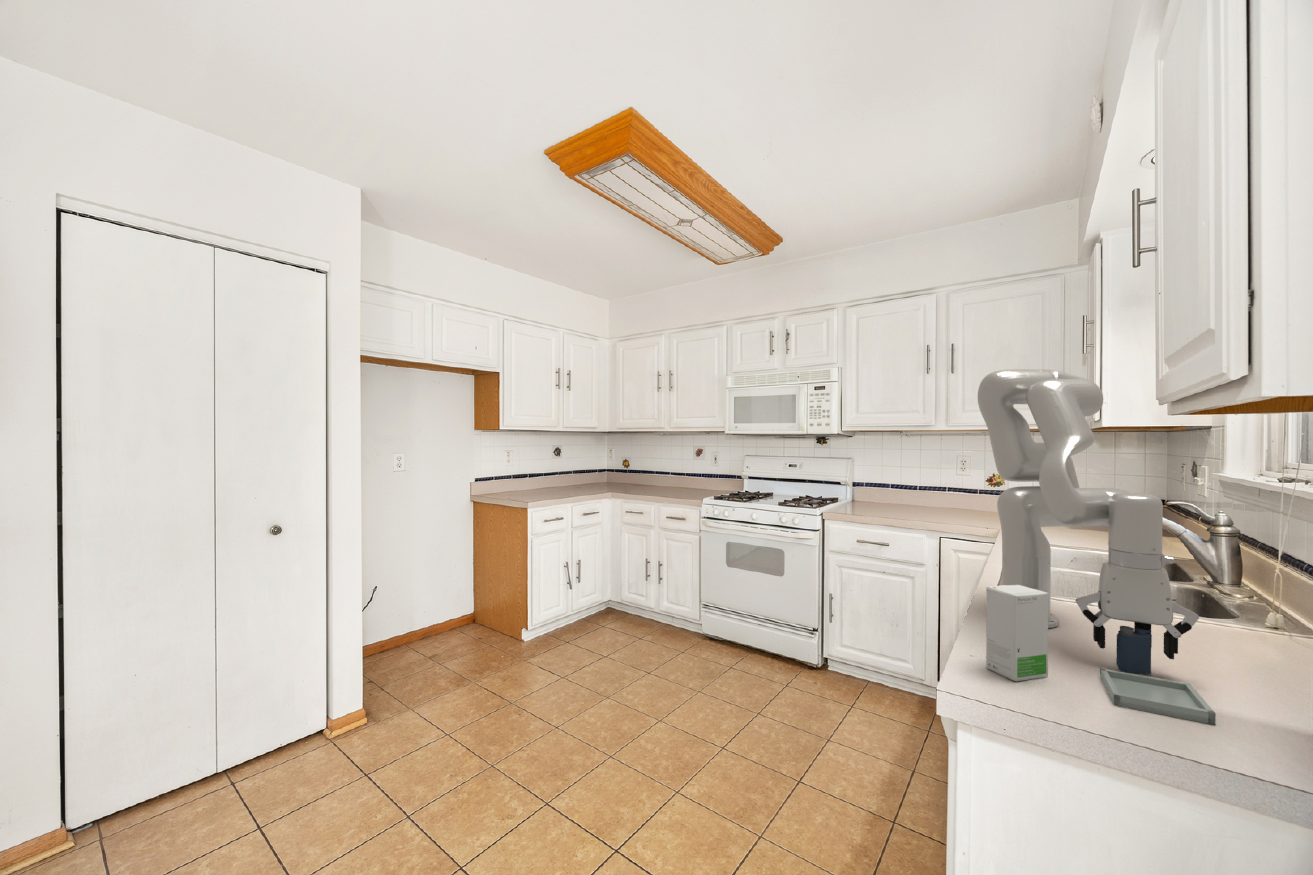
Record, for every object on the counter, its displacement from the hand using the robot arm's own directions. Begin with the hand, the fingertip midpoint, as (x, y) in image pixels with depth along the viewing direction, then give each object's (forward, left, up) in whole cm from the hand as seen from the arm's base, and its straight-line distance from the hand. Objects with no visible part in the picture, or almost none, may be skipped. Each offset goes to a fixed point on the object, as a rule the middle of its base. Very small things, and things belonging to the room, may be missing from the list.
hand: (1134, 651), depth 100 cm
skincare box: (+11, -19, -4) cm, 22 cm away
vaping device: (0, 0, -4) cm, 4 cm away
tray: (+12, 0, -4) cm, 13 cm away
